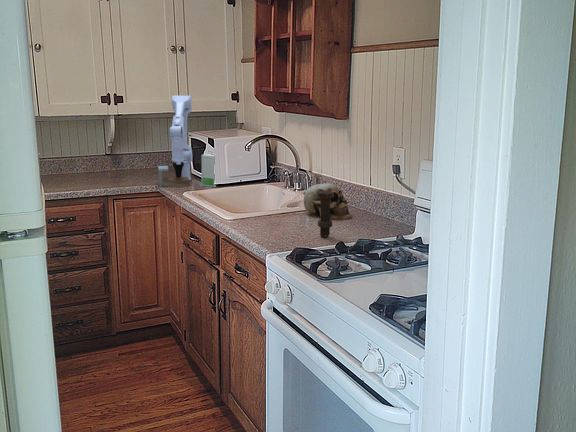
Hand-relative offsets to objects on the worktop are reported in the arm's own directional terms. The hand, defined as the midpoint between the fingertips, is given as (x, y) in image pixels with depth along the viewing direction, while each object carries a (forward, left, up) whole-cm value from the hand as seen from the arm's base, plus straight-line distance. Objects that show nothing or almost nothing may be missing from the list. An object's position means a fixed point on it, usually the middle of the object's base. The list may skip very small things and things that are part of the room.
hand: (178, 177), depth 301 cm
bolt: (+119, +43, -4) cm, 127 cm away
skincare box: (+7, +16, -4) cm, 18 cm away
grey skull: (+87, +53, -4) cm, 102 cm away
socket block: (0, -2, -4) cm, 4 cm away
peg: (0, 0, -2) cm, 3 cm away
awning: (0, -7, -4) cm, 8 cm away
